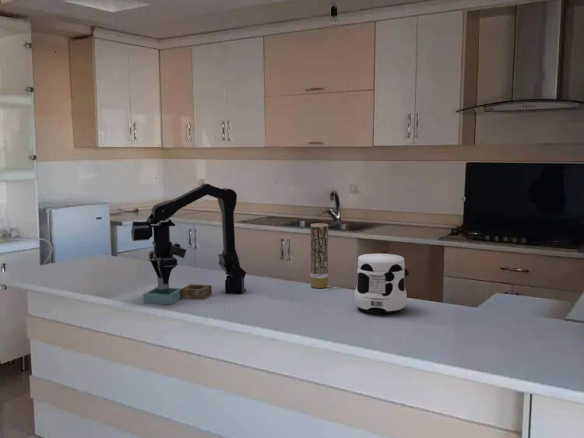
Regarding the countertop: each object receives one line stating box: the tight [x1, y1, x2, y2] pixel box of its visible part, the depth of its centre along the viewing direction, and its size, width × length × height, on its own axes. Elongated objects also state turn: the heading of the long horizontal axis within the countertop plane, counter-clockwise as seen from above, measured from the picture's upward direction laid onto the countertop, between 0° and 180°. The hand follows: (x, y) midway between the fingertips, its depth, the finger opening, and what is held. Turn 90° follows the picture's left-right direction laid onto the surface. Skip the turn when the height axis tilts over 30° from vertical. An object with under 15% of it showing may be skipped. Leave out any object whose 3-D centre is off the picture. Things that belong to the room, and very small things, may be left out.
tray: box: [143, 286, 182, 305], centre depth 205 cm, size 10×10×3 cm
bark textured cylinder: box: [310, 222, 329, 289], centre depth 224 cm, size 7×7×25 cm
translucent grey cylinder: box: [156, 277, 170, 295], centre depth 205 cm, size 4×4×8 cm
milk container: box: [354, 253, 408, 314], centre depth 190 cm, size 17×17×18 cm
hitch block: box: [181, 283, 213, 300], centre depth 210 cm, size 9×9×4 cm
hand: (163, 281), depth 205 cm, fingers open, 9 cm apart
